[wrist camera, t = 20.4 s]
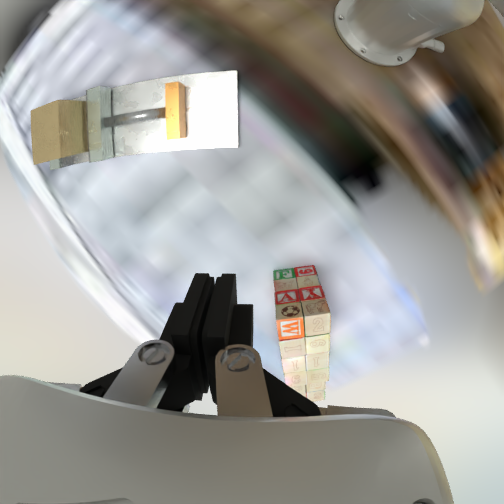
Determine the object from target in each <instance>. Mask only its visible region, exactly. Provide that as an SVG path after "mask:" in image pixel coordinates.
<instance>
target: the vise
mask: <svg viewBox="0 0 504 504" xmlns="http://www.w3.org/2000/svg"><path fill="white" fill-rule="evenodd" d="M178 81H179V82H180V83H182V84H184V85H185V115H186V138H182V139H172V140H167V137H166V118H161V119H153V120H146V121H140V122H133V123H127V124H122V125H116V126H112V142H113V156H114V157H120V156H128V155H135V154H144V153H153V152H163V151H174V150H187V149H202V148H224V147H239V131H238V72H237V71H221V72H207V73H197V74H188V75H180V76H172V77H165V78H159V79H153V80H148V81H142V82H137V83H132V84H128V85H123V86H119V87H115V88H111V116H114V115H119V114H124V113H130V112H135V111H141V110H147V109H154V108H161V107H165V83H171V82H178ZM72 100H76V101H86V95H85V96H82V97H79V98H75V99H72ZM83 162H89V154H88V152H84V153H80V154H75V155H71V156H67V157H63V158H59V159H55V160H51V161H50V170H54V169H58V168H62V167H66V166H69V165H73V164H78V163H83Z"/></svg>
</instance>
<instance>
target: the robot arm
mask: <svg viewBox="0 0 504 504" xmlns="http://www.w3.org/2000/svg"><path fill="white" fill-rule="evenodd" d="M489 1H490V2H491V3H492V4H493V6H494V7H495V8H496V9H497V10H498V11H499V12H500V13H501V15H502V16H503V17H504V0H489ZM483 6H484V0H340V1H339V2H338V4H337V6H336V8H335V11H334V23H335V27H336V30H337V32H338V34H339V36H340V37H341V39H342V40H343V42H344V43H345V44H346V45H347V46H348V48H349V49H350V50H352V51H353V52H354V53H355V54H356V55H358V56H359V57H361V58H363V59H364V60H366V61H368V62H371V63H373V64H376V65H380V66H387V67H389V66H397V65H401V64H403V63H405V62H407V61H409V60H410V59H411V58H412V57H413V56H414V54H415V52H416V50H417V48H418V47H420V48H425V47H427V48H430V49H431V50H434V51H437V52H439V53H442V52H443V51H444V43H443V42H441V41H439V40H436V39H434V38H436V37H439V36H441V35H444V34H447V33H449V32H452V31H455V30H458V29H460V28H463V27H466V26H468V25H470V24H472V23H474V22H475V21H476V20H477V19H478V17H479V16H480V14H481V12H482V9H483ZM339 19H341V20H339ZM361 51H362V52H363V53H362V52H361ZM397 59H398V60H397ZM209 386H210V391H211V394H212V399H213V402H214V403H215V404H216V405H217V412H218V416H216V415H205V414H194V413H188V412H189V407H190V406H189V403H191V402H193V401H194V400H202V396H203V393H207V392H208V389H209ZM0 504H454V502H453V498H452V494H451V490H450V486H449V483H448V480H447V477H446V475H445V471H444V468H443V466H442V463H441V461H440V458H439V456H438V454H437V451H436V449H435V447H434V445H433V444H432V442H431V440H430V438H429V437H428V436H427V434H426V433H425V432H424V431H423V430H422V429H421V428H420V427H419V426H417V425H416V424H414V423H412V422H409V421H406V420H403V419H399V418H396V417H395V416H394V415H393V413H391V412H389V411H387V410H383V409H371V408H354V407H341V406H340V407H339V406H330V405H328V408H321V407H318V406H317V405H316V404H315V403H313V402H312V401H311V400H309V399H308V398H306V397H305V396H303V395H301V394H300V393H298V392H297V391H295V390H294V389H292V388H291V387H289V386H288V385H286V384H285V383H284V382H282V381H281V380H279V379H278V378H276V377H275V376H273V375H272V374H270V373H269V372H268V371H266V370H265V369H263V368H262V363H261V358H260V355H259V353H258V352H257V351H256V350H255V349H254V348H253V304H237V290H236V274H222V276H221V277H217V279H216V283H215V282H214V277H210V276H209V273H196V274H195V276H194V278H193V280H192V283H191V285H190V287H189V290H188V292H187V295H186V297H185V300H184V302H183V303H175V305H174V307H173V309H172V312H171V314H170V316H169V318H168V321H167V323H166V325H165V328H164V330H163V332H162V335H161V337H160V339H159V340H150V341H147V342H144V343H143V344H141V345H140V346H139V347H138V348H137V349H136V350H135V351H134V353H133V354H132V356H131V357H130V358H129V360H128V361H127V363H126V364H125V366H124V367H123V368H121V369H119V370H116V371H114V372H112V373H110V374H107V375H105V376H103V377H101V378H99V379H96V380H94V381H92V382H89V383H88V384H86V385H85V386H84V387H82V386H81V384H65V383H50V382H44V381H41V380H37V379H34V378H29V377H24V376H16V375H6V376H0Z"/></svg>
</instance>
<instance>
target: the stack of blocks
mask: <svg viewBox="0 0 504 504" xmlns="http://www.w3.org/2000/svg"><path fill="white" fill-rule="evenodd" d="M273 274H274V287H275V307H276V324H277V330H278V337H279V346H280V351H281V361H282V367H283V372H284V377H285V383H286V385H288V386H289V387H291V388H292V389H294V390H295V391H297V392H298V393H300V394H301V395H303V396H305V397H306V398H308V399H309V400H311V401H312V402H314V401H321V400H325V383H326V381H329V351H330V323H331V315H330V310H329V307H328V304H327V301H326V299H325V295H324V292H323V289H322V286H321V284H320V282H319V279H318V275H317V272H316V270H315V266H314V265H311V266H304V267H296V268H291V269H283V270H274V271H273Z"/></svg>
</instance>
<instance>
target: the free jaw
mask: <svg viewBox="0 0 504 504" xmlns="http://www.w3.org/2000/svg"><path fill="white" fill-rule="evenodd" d="M161 118H166V137H167V140H172V139H182V138H186V115H185V85H184V84H182V83H180V82H179V81H178V82H171V83H165V107H161V108H154V109H147V110H141V111H135V112H130V113H124V114H119V115H114V116H111V88H108V87H103V86H98V87H94V88H91V89H88V90H86V120H87V140H88V154H89V162H96V161H102V160H106V159H110V158H114V156H113V142H112V126H116V125H122V124H127V123H133V122H140V121H146V120H153V119H161Z"/></svg>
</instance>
